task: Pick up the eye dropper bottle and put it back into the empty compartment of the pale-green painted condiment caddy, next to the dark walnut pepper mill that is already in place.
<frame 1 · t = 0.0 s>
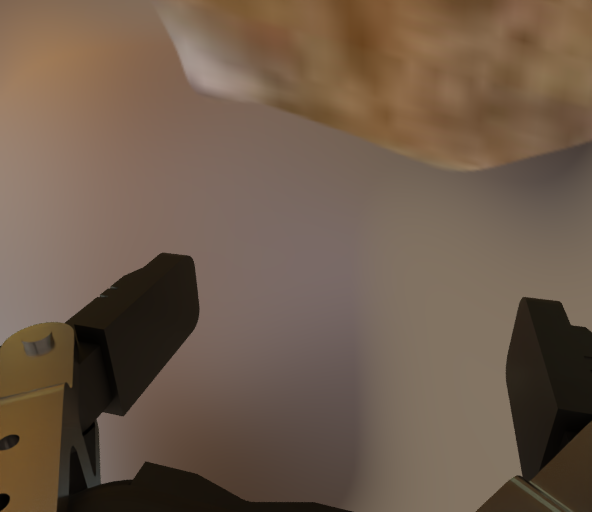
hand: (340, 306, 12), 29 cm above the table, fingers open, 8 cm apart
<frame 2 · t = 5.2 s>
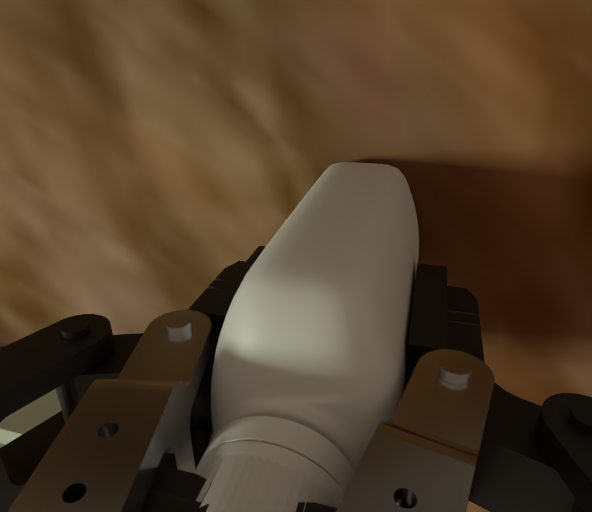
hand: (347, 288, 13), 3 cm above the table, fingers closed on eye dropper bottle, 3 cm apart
eye dropper bottle: (363, 244, 15), on the table, touching gripper
caddy: (71, 452, 24), on the table
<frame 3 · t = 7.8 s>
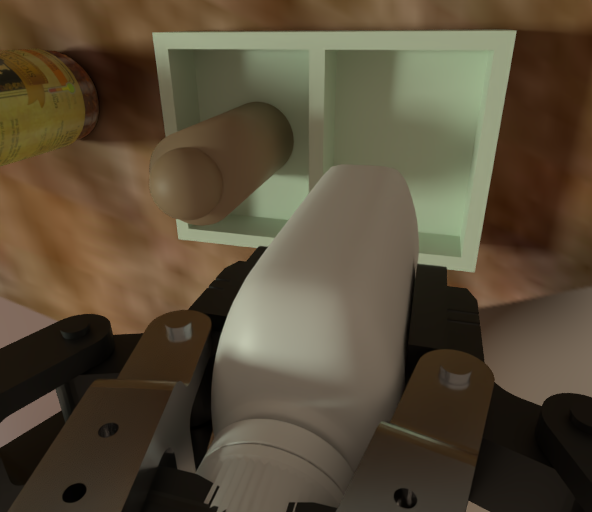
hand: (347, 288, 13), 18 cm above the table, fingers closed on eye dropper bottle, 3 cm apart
sauce bottle: (64, 95, 33), on the table
eye dropper bottle: (363, 246, 15), point 15 cm above the table, touching gripper
caddy: (331, 138, 29), on the table
when the fingers open (6 cm above the table, at t = 10.6 s): eye dropper bottle drops 2 cm, resting on caddy.
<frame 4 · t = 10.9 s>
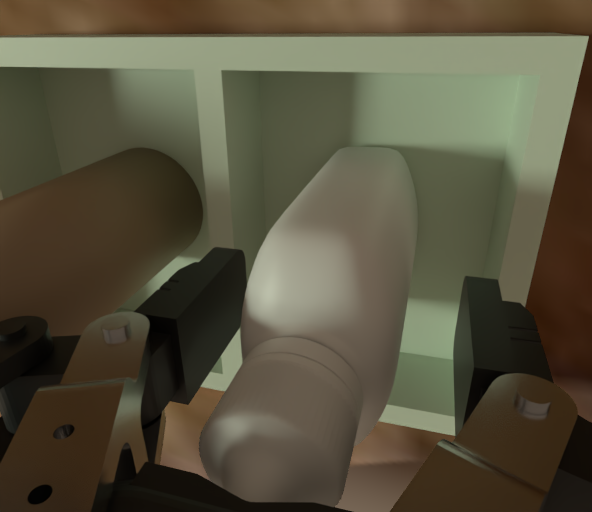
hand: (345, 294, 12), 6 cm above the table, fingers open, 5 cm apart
eye dropper bottle: (368, 221, 17), point 1 cm above the table, touching caddy
caddy: (263, 204, 19), on the table
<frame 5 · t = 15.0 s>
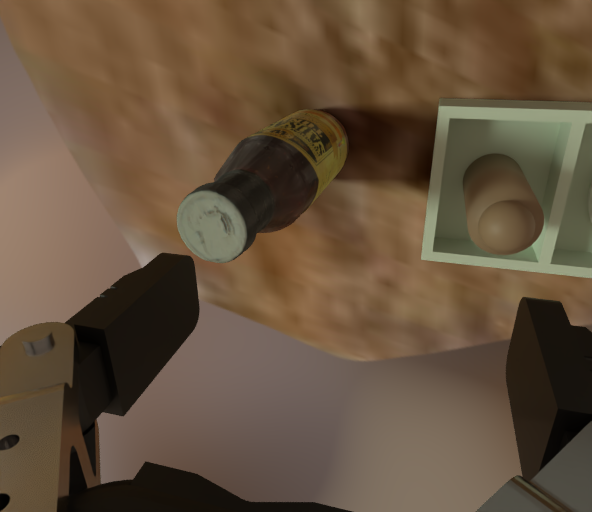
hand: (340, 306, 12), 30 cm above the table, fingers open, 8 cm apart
sauce bottle: (314, 142, 41), on the table
caddy: (549, 181, 37), on the table
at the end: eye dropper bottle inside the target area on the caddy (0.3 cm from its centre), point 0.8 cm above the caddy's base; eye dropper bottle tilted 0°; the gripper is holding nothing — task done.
